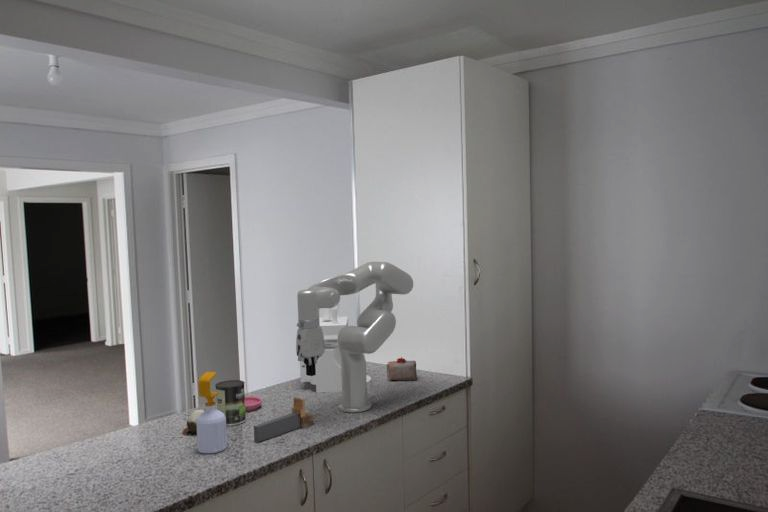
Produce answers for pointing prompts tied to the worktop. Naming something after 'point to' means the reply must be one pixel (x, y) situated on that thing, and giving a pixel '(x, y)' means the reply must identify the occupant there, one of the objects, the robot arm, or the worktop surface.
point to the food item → (401, 370)
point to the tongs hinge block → (307, 420)
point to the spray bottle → (210, 420)
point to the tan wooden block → (299, 406)
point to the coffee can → (231, 401)
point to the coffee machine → (328, 355)
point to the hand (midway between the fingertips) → (310, 375)
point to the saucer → (252, 403)
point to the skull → (192, 423)
